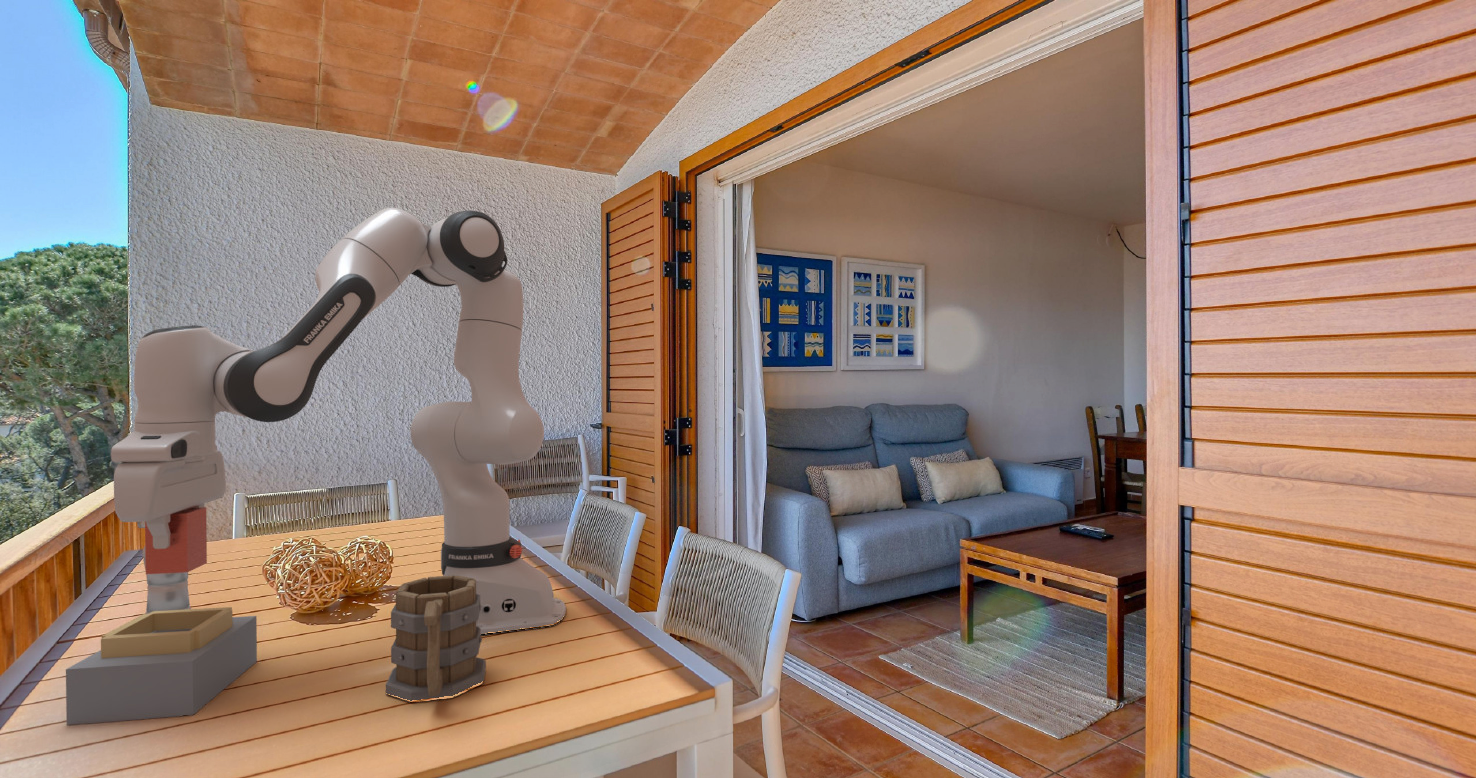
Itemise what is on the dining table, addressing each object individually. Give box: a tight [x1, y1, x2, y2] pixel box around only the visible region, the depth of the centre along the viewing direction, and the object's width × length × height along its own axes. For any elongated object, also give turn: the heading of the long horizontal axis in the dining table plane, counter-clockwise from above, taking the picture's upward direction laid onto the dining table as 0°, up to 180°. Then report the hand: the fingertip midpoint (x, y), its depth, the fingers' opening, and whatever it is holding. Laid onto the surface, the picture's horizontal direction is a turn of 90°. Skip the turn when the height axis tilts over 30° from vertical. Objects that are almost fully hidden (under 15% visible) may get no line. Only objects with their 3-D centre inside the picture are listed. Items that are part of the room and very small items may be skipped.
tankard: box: [385, 575, 487, 701], centre depth 100 cm, size 20×13×15 cm, turn 16°
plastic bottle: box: [141, 545, 192, 614], centre depth 121 cm, size 6×7×20 cm
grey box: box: [65, 606, 258, 726], centre depth 102 cm, size 14×20×10 cm
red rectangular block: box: [136, 506, 208, 575], centre depth 101 cm, size 7×5×8 cm
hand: (177, 542), depth 101 cm, fingers closed on red rectangular block, 5 cm apart
